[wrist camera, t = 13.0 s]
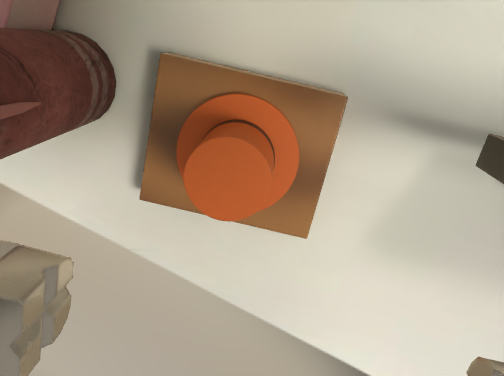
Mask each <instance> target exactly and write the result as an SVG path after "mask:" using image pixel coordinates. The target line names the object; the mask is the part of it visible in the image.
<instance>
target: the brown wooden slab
mask: <svg viewBox="0 0 504 376" xmlns="http://www.w3.org/2000/svg"><path fill="white" fill-rule="evenodd" d="M232 93H243V94H249V95H253V96H257V97H260V98H262V99H264V100H266V101H268V102H269V103H271V104H273V105H274V106H275V107H277V108H278V109H279V110H280V111H281V112H282V113H283V114H284V115H285V116H286V118H287V119H288V121H289V122H290V123H291V125H292V127H293V129H294V131H295V134H296V137H297V141H298V146H299V165H298V170H297V173H296V176H295V179H294V181H293V183H292V185H291V187H290V188H289V189H288V191H287V192H286V193H285V194H284V196H283V197H282V198H280V199H279V200H278V201H277V202H276V203H274V204H273V205H271V206H270V207H267V208H265V209H263V210H261V211H258V212H256V213H254V214H253V215H251V216H249V217H247V218H245V219H242V220H237V221H233V222H237V223H242V224H246V225H250V226H254V227H259V228H263V229H267V230H272V231H276V232H280V233H284V234H289V235H293V236H297V237H301V238H306V239H307V237H308V233H309V230H310V226H311V223H312V220H313V216H314V213H315V209H316V206H317V202H318V199H319V196H320V192H321V189H322V185H323V182H324V179H325V175H326V172H327V168H328V165H329V161H330V158H331V155H332V151H333V148H334V144H335V141H336V138H337V134H338V131H339V127H340V124H341V120H342V117H343V114H344V110H345V107H346V103H347V100H348V97H347V96H346V95H345V94H343V93H339V92H335V91H330V90H326V89H322V88H318V87H313V86H309V85H305V84H301V83H296V82H292V81H288V80H284V79H279V78H275V77H271V76H267V75H262V74H258V73H254V72H250V71H245V70H241V69H237V68H233V67H228V66H224V65H220V64H216V63H211V62H207V61H203V60H199V59H194V58H190V57H186V56H182V55H177V54H173V53H161V54H160V60H159V67H158V74H157V81H156V88H155V95H154V102H153V109H152V116H151V123H150V130H149V137H148V143H147V150H146V157H145V164H144V171H143V178H142V185H141V192H140V200H144V201H148V202H152V203H157V204H161V205H165V206H169V207H174V208H178V209H182V210H186V211H191V212H195V213H199V214H203V215H206V214H204V213H202V212H201V211H200V210H199V209H198V208H197V207H196V206H195V205H194V204H193V203H192V202H191V200H190V198H189V197H188V195H187V192H186V189H185V186H184V181H183V179H182V176H181V174H180V171H179V168H178V164H177V155H176V149H177V141H178V137H179V134H180V131H181V128H182V127H183V125H184V123H185V121H186V120H187V118H188V117H189V116H190V114H191V113H192V112H193V111H194V110H195V109H197V108H198V107H199V106H200V105H202V104H203V103H205V102H206V101H208V100H210V99H212V98H215V97H217V96H221V95H225V94H232Z"/></svg>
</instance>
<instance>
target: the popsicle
mask: <svg viewBox="0 0 504 376" xmlns="http://www.w3.org/2000/svg"><path fill="white" fill-rule="evenodd" d="M59 2H60V0H0V28H14V29H34V30H52V27H53V23H54V20H55V16H56V13H57V9H58V6H59Z"/></svg>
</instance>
